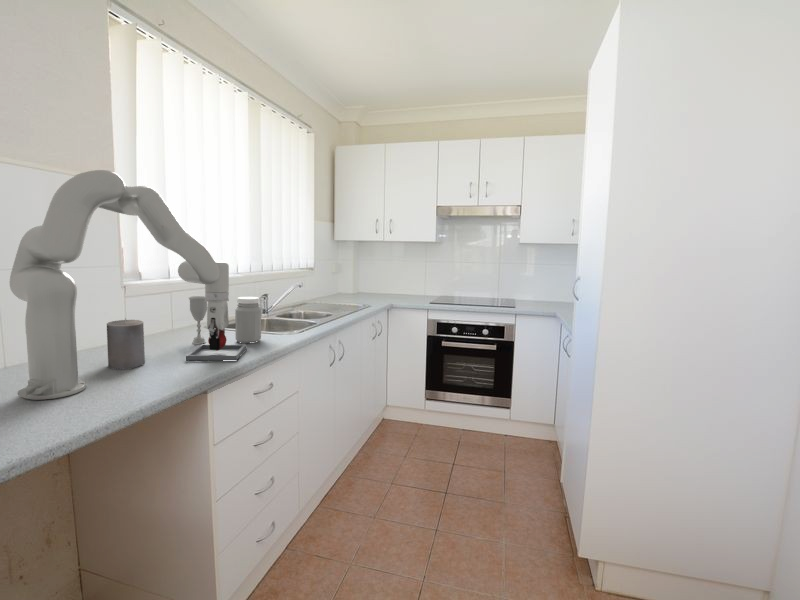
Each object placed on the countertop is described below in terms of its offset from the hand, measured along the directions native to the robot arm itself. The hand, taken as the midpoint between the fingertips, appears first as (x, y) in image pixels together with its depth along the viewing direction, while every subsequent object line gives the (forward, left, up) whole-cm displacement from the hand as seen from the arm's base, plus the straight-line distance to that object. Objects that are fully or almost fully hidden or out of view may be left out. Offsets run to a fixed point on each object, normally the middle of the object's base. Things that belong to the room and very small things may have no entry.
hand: (217, 346), depth 145 cm
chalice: (+19, +12, -3) cm, 23 cm away
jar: (+22, -6, -3) cm, 23 cm away
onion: (0, 0, -2) cm, 2 cm away
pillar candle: (-12, +24, -3) cm, 27 cm away
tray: (0, 0, -3) cm, 3 cm away
